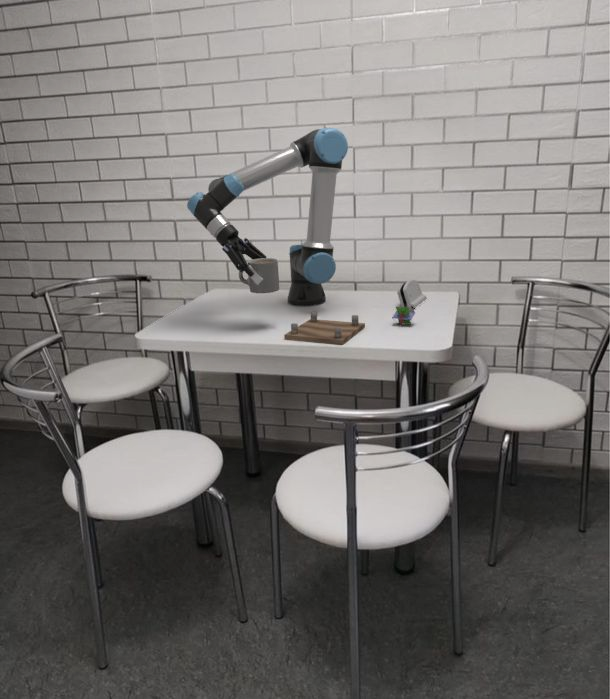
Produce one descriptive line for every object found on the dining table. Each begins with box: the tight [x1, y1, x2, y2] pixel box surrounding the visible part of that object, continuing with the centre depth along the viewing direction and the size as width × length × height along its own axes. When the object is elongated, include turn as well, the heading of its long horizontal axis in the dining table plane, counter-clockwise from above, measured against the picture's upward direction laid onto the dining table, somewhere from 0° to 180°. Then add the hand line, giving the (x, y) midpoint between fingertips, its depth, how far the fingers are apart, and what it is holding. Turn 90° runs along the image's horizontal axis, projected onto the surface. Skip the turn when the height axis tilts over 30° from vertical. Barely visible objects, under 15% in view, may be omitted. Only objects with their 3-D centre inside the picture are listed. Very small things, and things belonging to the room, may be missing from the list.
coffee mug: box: [238, 257, 280, 294], centre depth 205 cm, size 13×10×10 cm
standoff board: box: [284, 311, 366, 346], centre depth 197 cm, size 20×20×4 cm
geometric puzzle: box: [391, 305, 416, 326], centre depth 202 cm, size 7×7×8 cm
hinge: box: [397, 279, 428, 309], centre depth 229 cm, size 17×5×10 cm, turn 153°
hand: (267, 279), depth 204 cm, fingers closed on coffee mug, 9 cm apart
